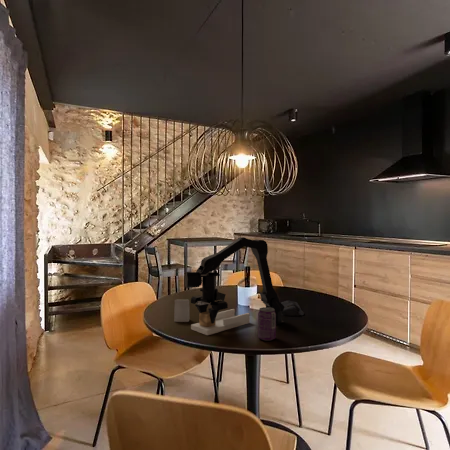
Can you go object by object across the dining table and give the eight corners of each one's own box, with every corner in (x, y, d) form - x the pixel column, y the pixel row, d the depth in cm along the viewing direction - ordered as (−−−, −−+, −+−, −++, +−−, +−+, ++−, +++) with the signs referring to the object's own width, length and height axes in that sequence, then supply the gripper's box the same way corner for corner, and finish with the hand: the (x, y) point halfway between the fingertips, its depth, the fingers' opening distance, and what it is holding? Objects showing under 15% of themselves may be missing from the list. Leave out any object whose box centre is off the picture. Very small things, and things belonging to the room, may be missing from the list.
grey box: (188, 321, 161) (188, 300, 161) (174, 321, 161) (174, 300, 161) (189, 319, 165) (189, 298, 165) (175, 319, 165) (175, 298, 165)
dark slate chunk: (301, 306, 193) (301, 298, 193) (304, 317, 171) (304, 307, 171) (273, 305, 195) (273, 297, 195) (273, 316, 173) (273, 306, 173)
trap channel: (249, 322, 160) (249, 313, 160) (207, 335, 142) (207, 324, 142) (233, 318, 168) (233, 308, 168) (190, 329, 150) (190, 319, 150)
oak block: (215, 324, 149) (215, 313, 149) (206, 327, 146) (206, 315, 146) (208, 322, 153) (208, 311, 153) (199, 324, 149) (199, 313, 149)
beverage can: (274, 335, 142) (274, 306, 142) (277, 341, 135) (277, 311, 134) (257, 335, 141) (257, 307, 141) (259, 341, 134) (259, 311, 134)
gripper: (236, 287, 148) (236, 322, 148) (208, 281, 162) (208, 314, 162) (217, 290, 141) (217, 328, 141) (190, 284, 154) (190, 319, 154)
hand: (208, 322), depth 150 cm, fingers closed on oak block, 5 cm apart
